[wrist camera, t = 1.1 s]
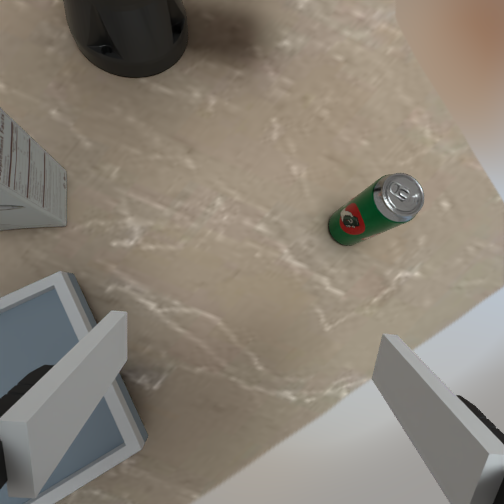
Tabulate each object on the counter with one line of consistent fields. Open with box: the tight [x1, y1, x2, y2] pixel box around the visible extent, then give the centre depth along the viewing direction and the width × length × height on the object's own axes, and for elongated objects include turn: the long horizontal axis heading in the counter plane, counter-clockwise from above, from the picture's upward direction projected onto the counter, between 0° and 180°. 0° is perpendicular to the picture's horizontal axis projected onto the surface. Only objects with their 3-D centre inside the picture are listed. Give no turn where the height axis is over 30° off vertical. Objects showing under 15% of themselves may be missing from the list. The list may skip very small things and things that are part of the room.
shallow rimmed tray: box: [0, 271, 148, 504], centre depth 27 cm, size 18×15×6 cm
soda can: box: [329, 173, 424, 245], centre depth 32 cm, size 5×5×12 cm
